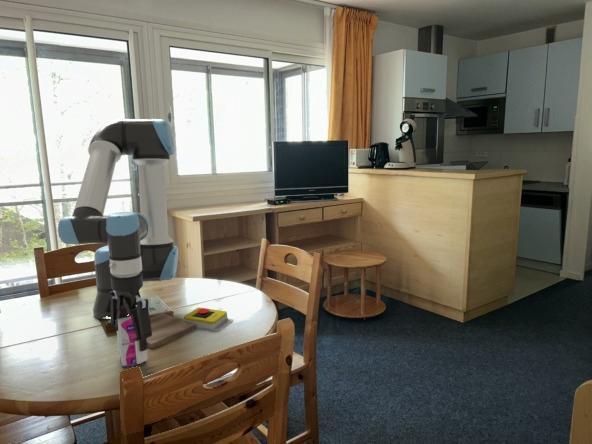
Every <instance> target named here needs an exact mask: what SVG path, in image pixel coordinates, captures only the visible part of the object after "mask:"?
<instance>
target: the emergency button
mask: <svg viewBox="0 0 592 444" xmlns="http://www.w3.org/2000/svg"><path fill="white" fill-rule="evenodd" d="M183 320H184V321H186V322H189V323H192V324H195V325H196V329H197V328H198V329H201V330H202V329H203V330H208V331H209V330H210V331H215V332H220V331H223V329H225V328H226V327H228V326H229V325H231V324H232V322H233V321H234V319H232V318H228V312H227V311H226V310H220V309H219V310H218V309H212V308H207V307H196V308H194V309H193V310H192V311H190V312H188V313H186V314H185V315H184V316H183Z"/></svg>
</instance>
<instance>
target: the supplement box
mask: <svg viewBox="0 0 592 444" xmlns="http://www.w3.org/2000/svg"><path fill="white" fill-rule="evenodd" d="M118 332H119V347H120V355H119V358H120V363H121V366H122V368H126V367H132V366H137V365H140V364H146V363H147V362H146V361H147V360H146V361H144V362H142V363H139V364H137V362H136V348H135V340H134V339H136V338H137V337H136V333H135V330H134V326H133V323H132V320H131V316H129V317H125V318H120V319H118ZM140 335H141V334H140Z"/></svg>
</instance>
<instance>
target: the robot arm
mask: <svg viewBox="0 0 592 444" xmlns="http://www.w3.org/2000/svg"><path fill="white" fill-rule="evenodd" d="M87 148H88V155H89V158H88V161H87V164H86V168H85V171H84V175H83V178H82V182H81V185H80V189H79V191H78V195H77V198H76V203H75V205H74V208H73V213H72V215H68V216H62V217H61V219H60V220H59V221H58V224H57V233H58V237H59V239H60V241H61V243H63V244H66V245H78V246H79V245H86V244H87V245H88V244H89V245H90V244H93V245H94V244H107V245H105V246H102V247H99V248H98V249H96V250H95V252H94V254H93V256H94V263H93V265H94V270H95V272H94V273H95V281H96V296H95V298H94V299H95V300H94V303H93V307H92V314H93V317H94V318H95V319H98V320H102V318H103V317H106V316H108V317H111V320H110V326H111V327H114V330H115V331H116V339H117V353H118V355H119V356H120V347H119V332H118V319H120V318H125V317H127V315H128V314H129V315H130V316H129V317H131V320H132V323H133V326H134V330H135V333H136V337H137V338H136V339H134V340H135V348H136V362H137V365H140V364H139V363H142V362H144V361H148V347H147V338H148V337H151V336H152V330H151V324H150V318H151V317H150V312H149V299H148V298H145V299H143V298H142V296H141V292H140V290H141V289H142V288H143V286H144V282H162V281H171V280H173V279H174V278H175V276H176V273H177V270H178V269H177V268H178V262H179V247H178V246H177V245H174V239H172V238H171V237H170V236H169V222H168V221H169V219H168V199H167V197H168V196H167V177H166V175H167V174H166V165H167V164H168V163H169V162H170V158H171V157H170V156H173V155H174V154H175V144H174V137H173V133H172V129H171V127H170V124H169V123H168V121H167V120H165V119H159V118H158V119H157V118H132V119H131V118H118V119H115V120H112V121H109V122H107V123H105V124H104V125H103V126H102V127H100V128H99V129H98V130H97V131H96V133H95V134H94V135H93V137H92V139H91V140H90V142H89V145H88V147H87ZM122 156H132V161H133V162H134V163H135V164H136V165H137V169H138V187H139V191H138V192H139V207H140V208H139V209H140V212H133V211H119V212H118V211H117V212H113V213H110V214H108V215H104V212H105V208H106V205H107V200H108V197H109V193H110V192H109V191H110V188H111V184H112V181H113V175H114V172H115V168H116V165H117V163H118V162H119V161H120V160H121V157H122ZM140 334H141V335H140ZM142 364H143V363H142Z"/></svg>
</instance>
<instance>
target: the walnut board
mask: <svg viewBox="0 0 592 444" xmlns="http://www.w3.org/2000/svg"><path fill="white" fill-rule="evenodd" d="M149 318H150V324H151V330H152V336H151V337H148V338H147V349H150V350H152V349H154V348H157V347H160V346H161V345H164V344H166V343H168V342H171V341H173V340H175V339H177V338H179V337H181V336H184V335H186V334H189V333H191V332H193V331H195V330H197V328H196V325H195V324H192V323H189V322H186V321H184V319H181V318H179V317H176V316H172V315H169V314H166V313H164V314H162V313H161V315H160V314H157V315H155V316H154V315H153V316H152V317H149Z"/></svg>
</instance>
